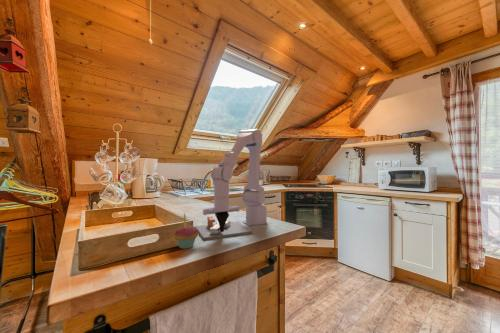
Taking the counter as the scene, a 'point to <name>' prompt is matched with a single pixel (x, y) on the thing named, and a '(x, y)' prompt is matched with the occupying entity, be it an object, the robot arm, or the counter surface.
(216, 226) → the link
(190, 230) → the cupcake
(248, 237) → the counter surface
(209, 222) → the keeper
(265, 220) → the robot arm
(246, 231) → the board
